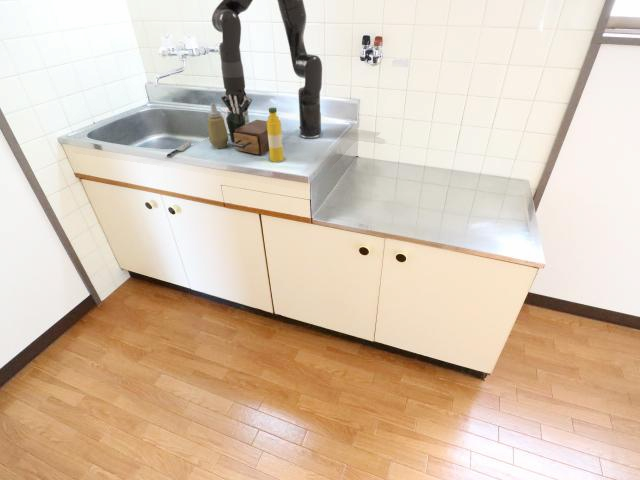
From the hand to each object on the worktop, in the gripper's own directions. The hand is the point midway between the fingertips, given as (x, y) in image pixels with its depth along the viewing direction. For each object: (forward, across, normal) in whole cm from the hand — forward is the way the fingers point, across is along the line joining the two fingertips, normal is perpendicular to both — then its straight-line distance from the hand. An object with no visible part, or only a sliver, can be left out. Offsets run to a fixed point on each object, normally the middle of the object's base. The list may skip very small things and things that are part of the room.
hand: (239, 123), depth 143 cm
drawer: (+12, 0, -6) cm, 14 cm away
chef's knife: (+13, +28, +6) cm, 32 cm away
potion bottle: (+13, +14, -14) cm, 24 cm away
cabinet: (+13, 0, -11) cm, 17 cm away
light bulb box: (+13, +22, -23) cm, 34 cm away
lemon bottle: (+13, -14, -3) cm, 19 cm away
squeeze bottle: (+13, +16, -4) cm, 21 cm away
